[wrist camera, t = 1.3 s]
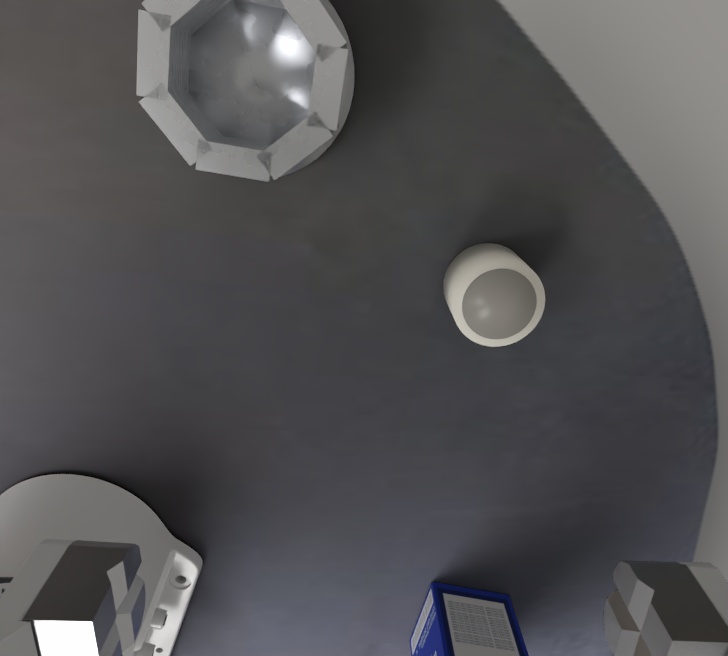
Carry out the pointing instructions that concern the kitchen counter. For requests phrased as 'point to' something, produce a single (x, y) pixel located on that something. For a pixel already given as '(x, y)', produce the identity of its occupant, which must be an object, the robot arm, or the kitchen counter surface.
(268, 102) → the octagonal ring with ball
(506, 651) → the milk carton
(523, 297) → the cap
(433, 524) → the kitchen counter surface
